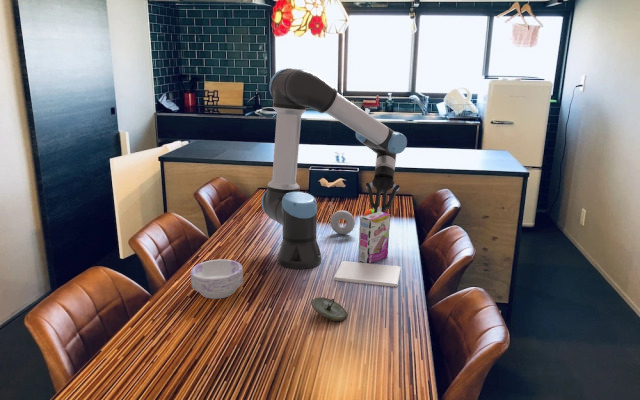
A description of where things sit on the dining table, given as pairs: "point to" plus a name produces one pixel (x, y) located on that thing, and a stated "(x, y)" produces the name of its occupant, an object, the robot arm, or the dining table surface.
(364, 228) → the candy bar box
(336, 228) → the donut
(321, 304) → the lid
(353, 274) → the cutting board
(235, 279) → the paper bowls
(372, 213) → the clementine
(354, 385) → the dining table surface
